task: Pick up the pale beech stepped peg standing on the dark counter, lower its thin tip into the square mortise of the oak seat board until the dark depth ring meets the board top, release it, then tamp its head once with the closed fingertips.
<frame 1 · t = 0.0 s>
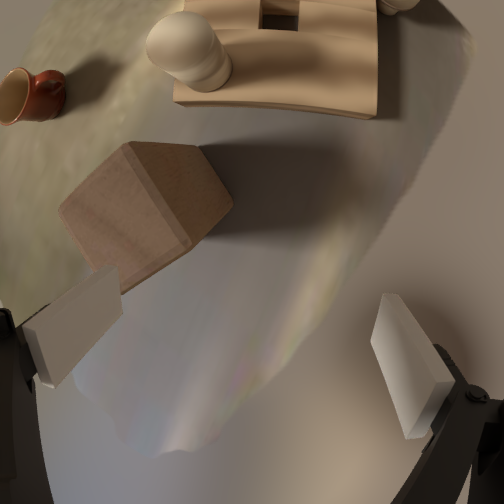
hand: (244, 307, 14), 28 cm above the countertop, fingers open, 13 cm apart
mug: (60, 96, 39), on the countertop
peg: (386, 6, 30), on the countertop
block: (188, 193, 42), on the countertop
seat board: (280, 29, 33), on the countertop
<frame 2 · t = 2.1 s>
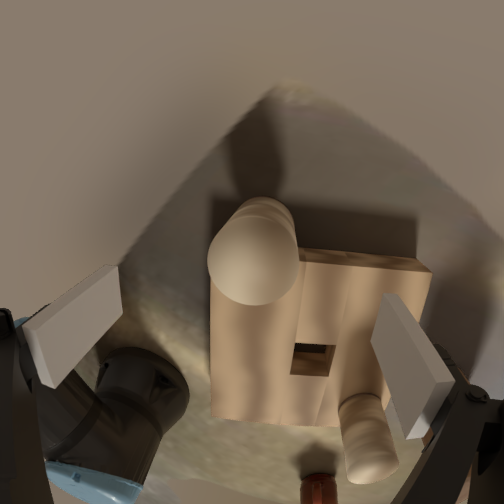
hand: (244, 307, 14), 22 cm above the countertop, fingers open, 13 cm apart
mug: (317, 475, 49), on the countertop
peg: (265, 217, 35), on the countertop
block: (435, 394, 41), on the countertop
seat board: (309, 337, 39), on the countertop
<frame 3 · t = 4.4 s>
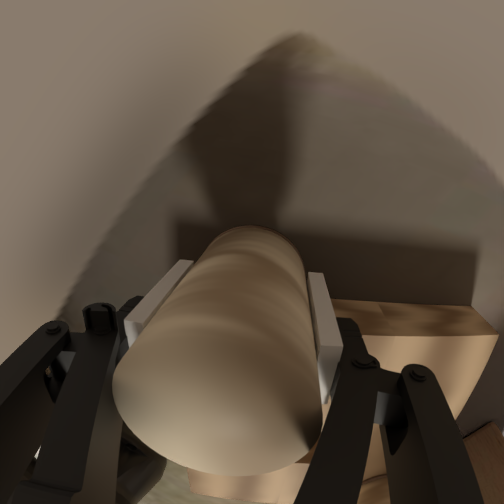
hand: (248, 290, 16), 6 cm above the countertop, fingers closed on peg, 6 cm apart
peg: (258, 252, 22), on the countertop, touching gripper
block: (464, 450, 28), on the countertop
seat board: (319, 409, 26), on the countertop
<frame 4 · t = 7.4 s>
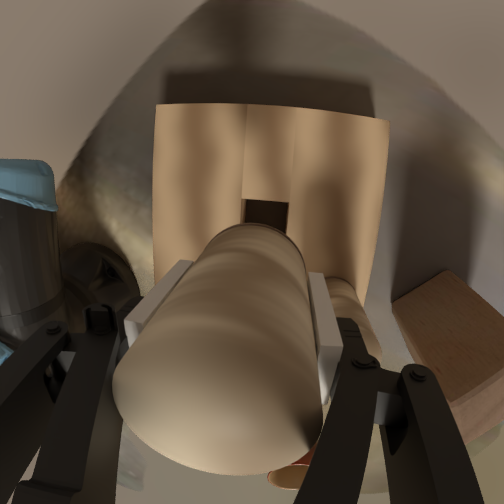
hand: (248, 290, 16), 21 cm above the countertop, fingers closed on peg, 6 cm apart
mug: (295, 425, 47), on the countertop
peg: (258, 249, 22), point 15 cm above the countertop, touching gripper
block: (427, 310, 38), on the countertop
seat board: (266, 214, 36), on the countertop
when the fingers open (7 cm above the countertop, at t = 10.7 s): peg stays where it is, resting on seat board.
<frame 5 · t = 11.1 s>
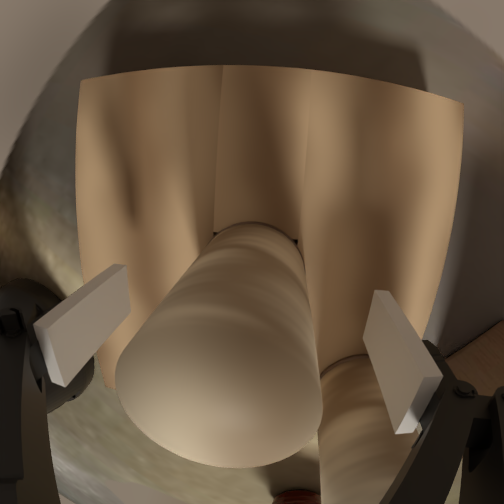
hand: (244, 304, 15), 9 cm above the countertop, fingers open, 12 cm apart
mug: (296, 492, 33), on the countertop
peg: (258, 249, 22), resting on seat board
block: (474, 368, 25), on the countertop
seat board: (259, 250, 23), on the countertop
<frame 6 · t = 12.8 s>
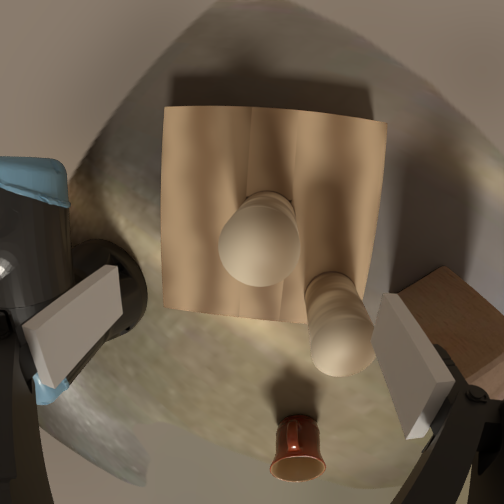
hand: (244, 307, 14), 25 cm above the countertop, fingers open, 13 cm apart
mug: (296, 418, 48), on the countertop
peg: (269, 211, 37), resting on seat board
block: (425, 305, 40), on the countertop
seat board: (269, 212, 38), on the countertop
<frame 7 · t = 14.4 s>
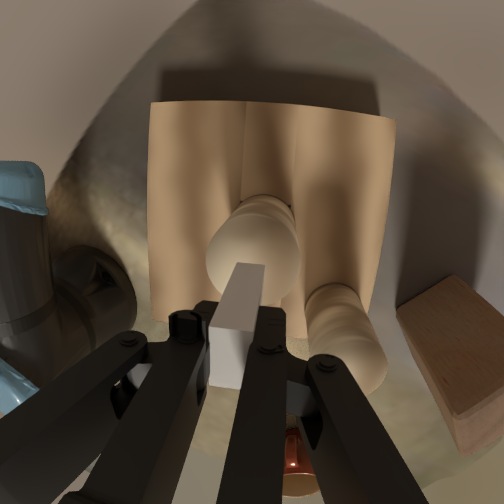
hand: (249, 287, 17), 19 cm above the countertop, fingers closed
mug: (295, 432, 45), on the countertop
peg: (266, 216, 34), resting on seat board
block: (432, 315, 37), on the countertop
seat board: (266, 217, 35), on the countertop
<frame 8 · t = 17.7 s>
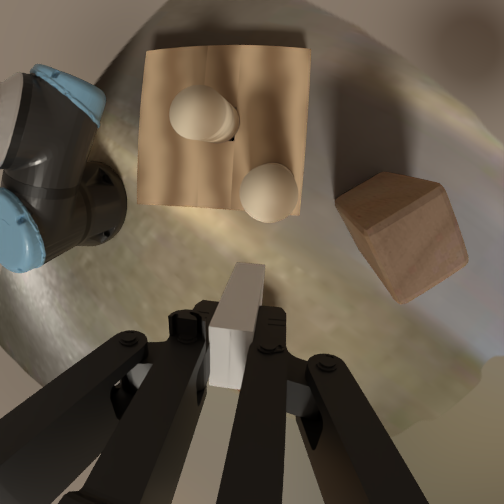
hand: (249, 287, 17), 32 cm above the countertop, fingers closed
peg: (224, 125, 44), resting on seat board
block: (372, 211, 46), on the countertop
seat board: (224, 126, 45), on the countertop
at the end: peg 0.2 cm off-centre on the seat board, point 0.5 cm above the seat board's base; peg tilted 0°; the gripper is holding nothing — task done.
